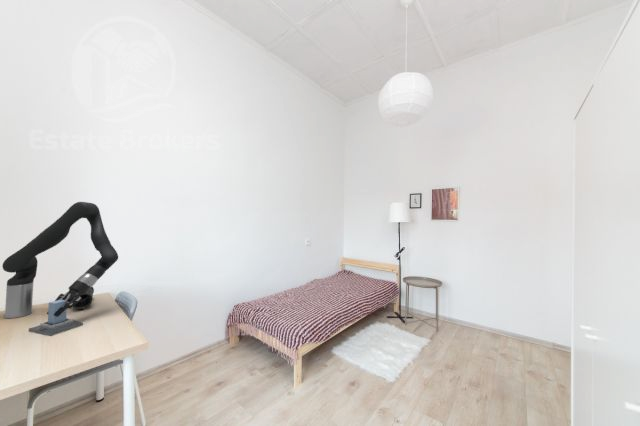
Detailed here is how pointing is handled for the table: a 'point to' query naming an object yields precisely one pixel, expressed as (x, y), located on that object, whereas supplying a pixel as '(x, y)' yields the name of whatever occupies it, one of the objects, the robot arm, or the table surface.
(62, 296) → the robot arm
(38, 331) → the grey metal socket plate
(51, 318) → the peg
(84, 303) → the muzzle brake
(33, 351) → the table surface
